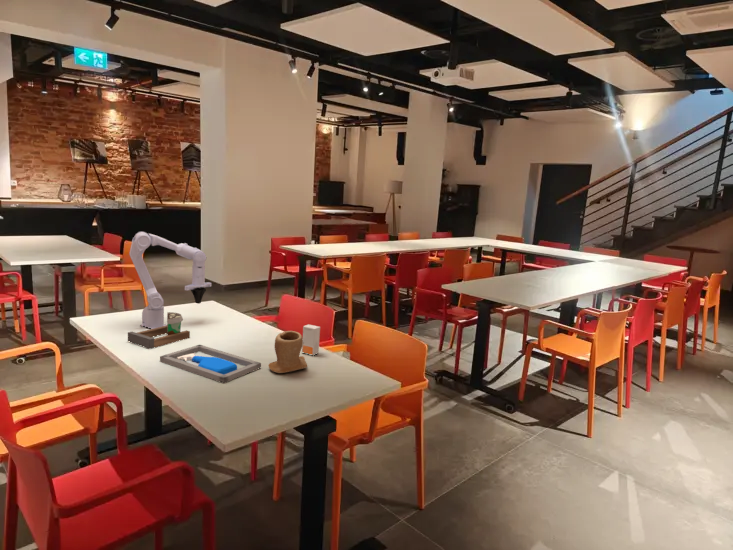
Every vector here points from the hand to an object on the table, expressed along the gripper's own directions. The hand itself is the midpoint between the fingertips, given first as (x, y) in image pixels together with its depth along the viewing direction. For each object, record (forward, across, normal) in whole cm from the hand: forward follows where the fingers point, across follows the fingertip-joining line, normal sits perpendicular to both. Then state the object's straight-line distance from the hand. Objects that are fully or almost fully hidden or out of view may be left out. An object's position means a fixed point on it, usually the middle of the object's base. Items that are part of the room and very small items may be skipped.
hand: (198, 303), depth 233 cm
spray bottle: (+11, -36, -44) cm, 58 cm away
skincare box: (+11, +1, -66) cm, 67 cm away
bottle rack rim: (+10, -34, -45) cm, 57 cm away
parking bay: (+10, -26, -7) cm, 29 cm away
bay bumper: (+10, -36, -7) cm, 38 cm away
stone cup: (+11, -19, -71) cm, 74 cm away
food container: (+11, -21, -9) cm, 25 cm away
